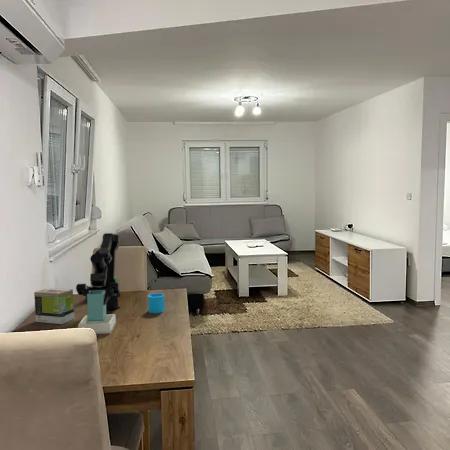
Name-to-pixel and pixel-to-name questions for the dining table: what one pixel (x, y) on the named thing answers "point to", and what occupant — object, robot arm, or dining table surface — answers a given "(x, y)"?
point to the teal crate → (96, 306)
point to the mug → (156, 303)
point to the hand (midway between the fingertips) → (96, 305)
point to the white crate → (99, 324)
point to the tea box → (54, 305)
